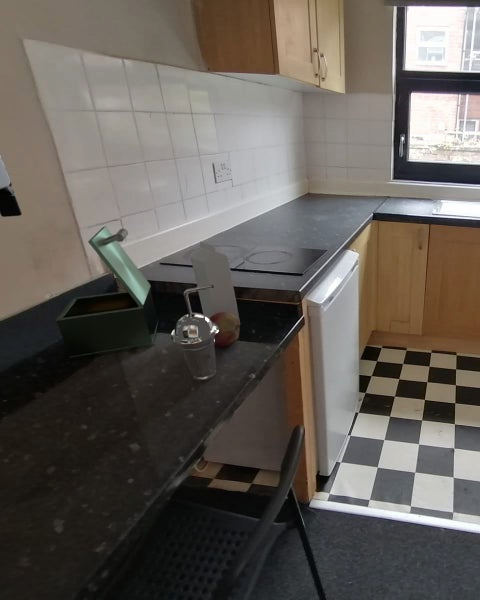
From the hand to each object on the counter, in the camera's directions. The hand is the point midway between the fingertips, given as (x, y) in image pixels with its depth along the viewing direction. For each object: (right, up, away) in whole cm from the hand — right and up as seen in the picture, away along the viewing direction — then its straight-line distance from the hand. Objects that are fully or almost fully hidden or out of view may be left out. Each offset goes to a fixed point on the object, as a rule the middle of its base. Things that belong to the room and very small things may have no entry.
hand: (1, 221), depth 78 cm
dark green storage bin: (+10, -25, +18) cm, 33 cm away
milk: (+32, -22, +25) cm, 47 cm away
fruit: (+37, -26, +16) cm, 48 cm away
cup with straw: (+37, -31, +5) cm, 49 cm away
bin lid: (+15, -8, +13) cm, 21 cm away
